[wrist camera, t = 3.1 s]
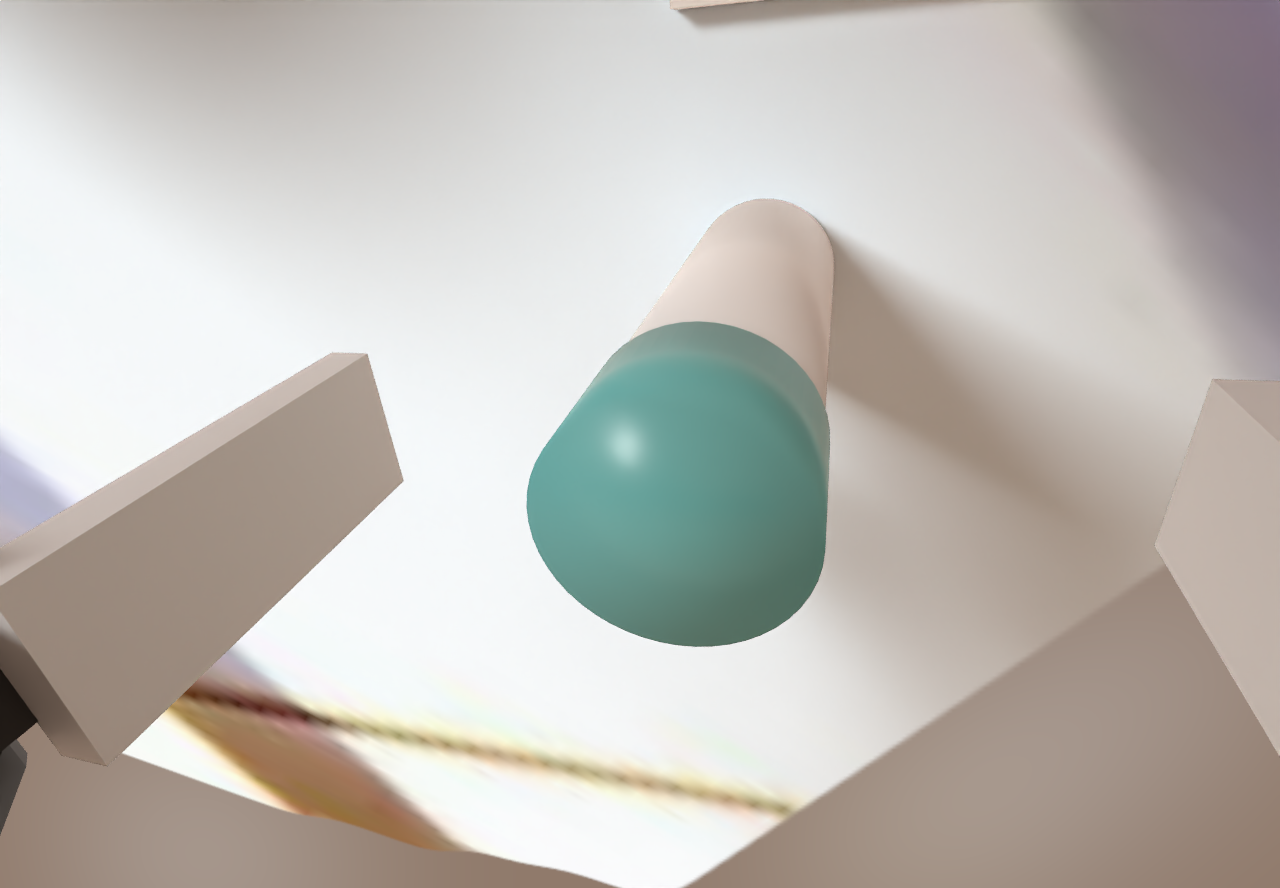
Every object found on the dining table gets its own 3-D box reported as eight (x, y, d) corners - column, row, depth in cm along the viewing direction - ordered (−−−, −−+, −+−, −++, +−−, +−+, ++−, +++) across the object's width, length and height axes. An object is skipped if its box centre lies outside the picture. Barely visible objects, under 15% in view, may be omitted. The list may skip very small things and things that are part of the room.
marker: (695, 336, 20) (549, 627, 10) (688, 197, 18) (502, 393, 8) (833, 338, 19) (817, 664, 9) (842, 191, 17) (833, 407, 7)
